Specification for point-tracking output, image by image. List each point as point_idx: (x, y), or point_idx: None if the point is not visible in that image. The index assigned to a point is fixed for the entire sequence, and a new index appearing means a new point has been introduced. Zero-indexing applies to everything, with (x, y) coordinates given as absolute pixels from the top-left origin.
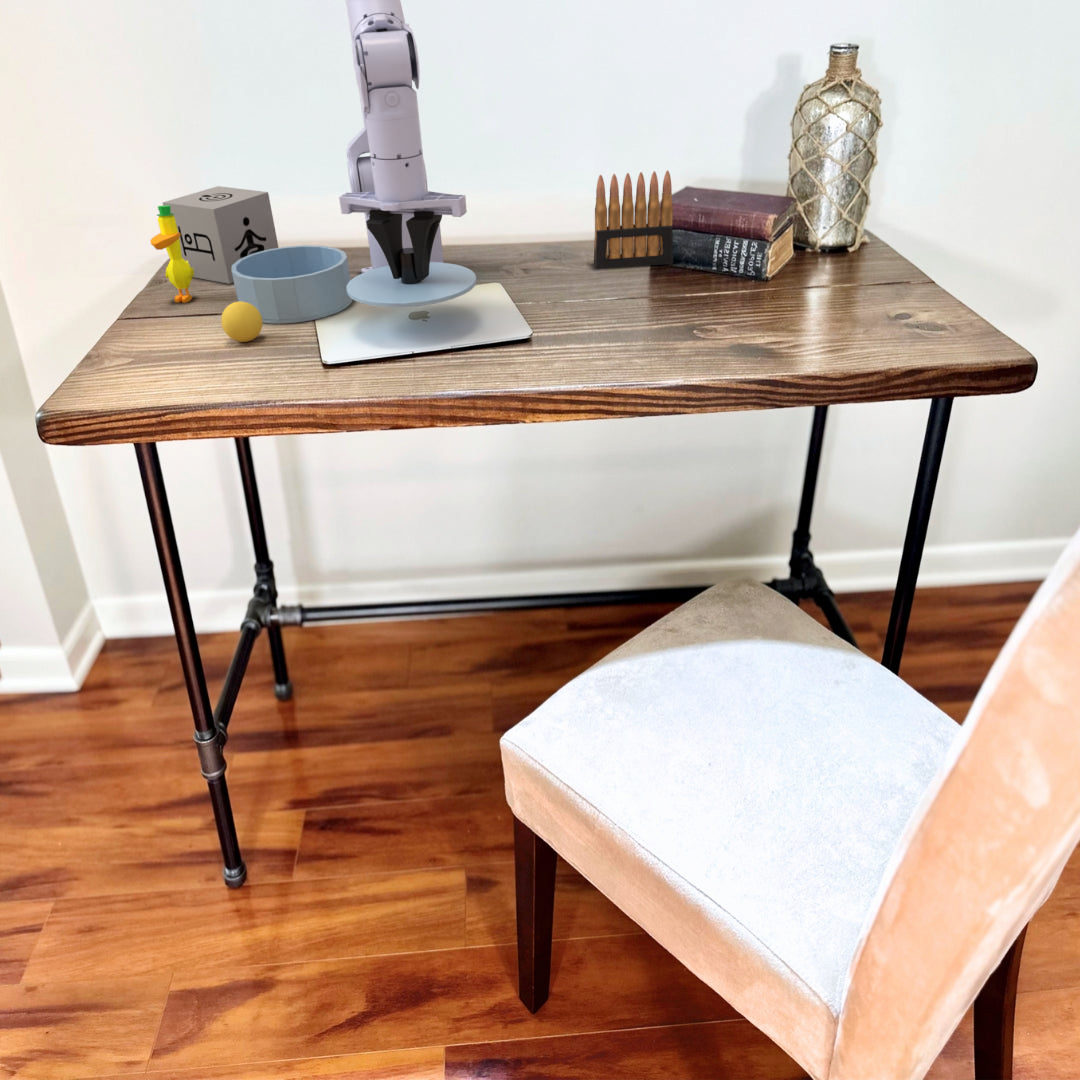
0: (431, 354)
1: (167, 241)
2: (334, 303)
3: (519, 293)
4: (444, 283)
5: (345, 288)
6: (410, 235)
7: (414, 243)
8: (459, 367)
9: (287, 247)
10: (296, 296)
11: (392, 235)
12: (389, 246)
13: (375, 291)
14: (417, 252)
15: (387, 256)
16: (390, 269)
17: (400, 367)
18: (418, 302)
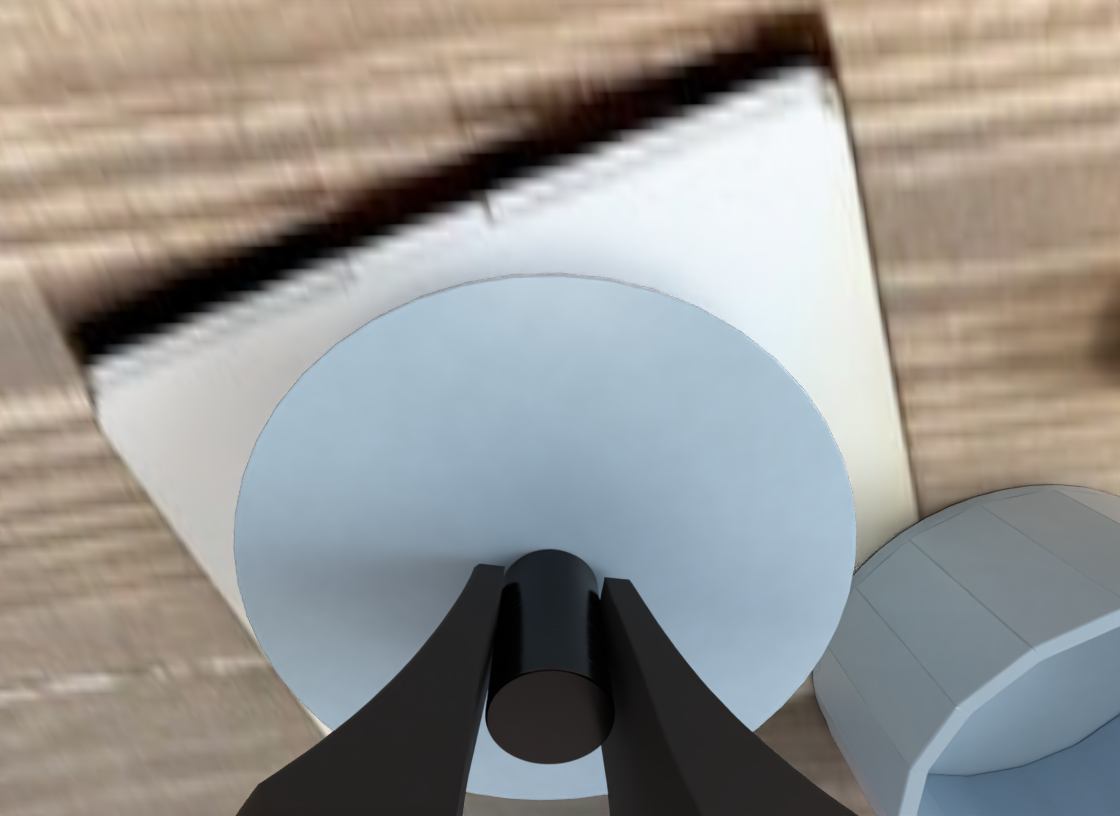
0: (406, 191)
1: None
2: (872, 596)
3: (285, 735)
4: (377, 563)
5: (852, 677)
6: (457, 750)
7: (452, 703)
8: (239, 39)
9: None
10: (1049, 551)
11: (650, 807)
12: (656, 699)
13: (697, 456)
14: (453, 655)
15: (668, 654)
16: None
17: (494, 35)
18: (423, 297)
